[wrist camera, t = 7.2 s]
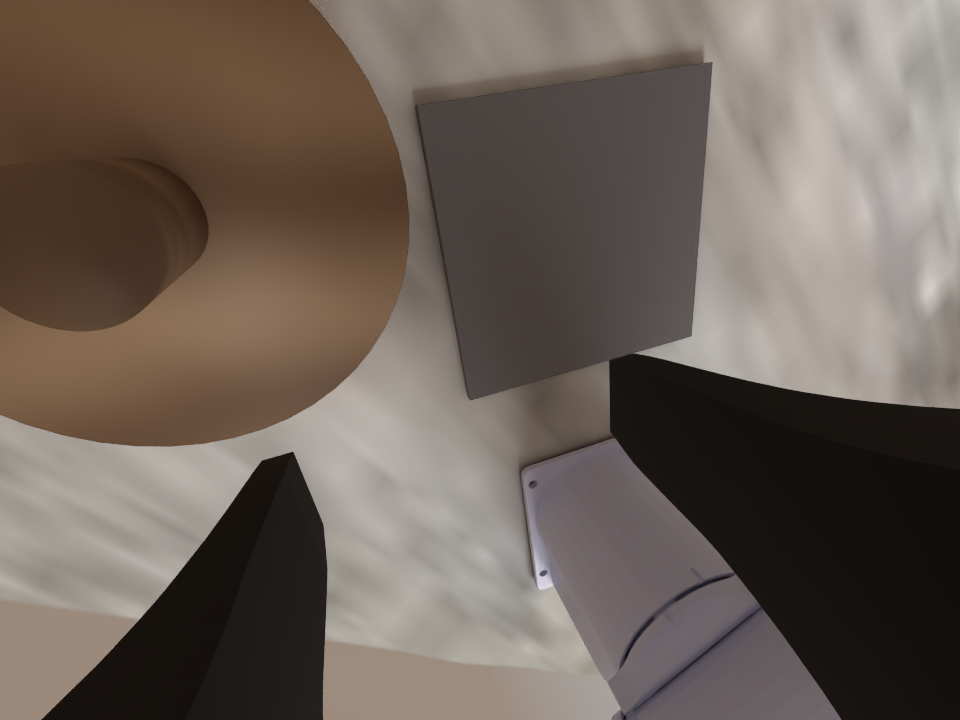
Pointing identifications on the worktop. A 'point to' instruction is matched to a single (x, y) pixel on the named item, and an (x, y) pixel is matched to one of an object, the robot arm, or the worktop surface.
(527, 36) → the worktop surface
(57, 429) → the lid
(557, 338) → the mat
